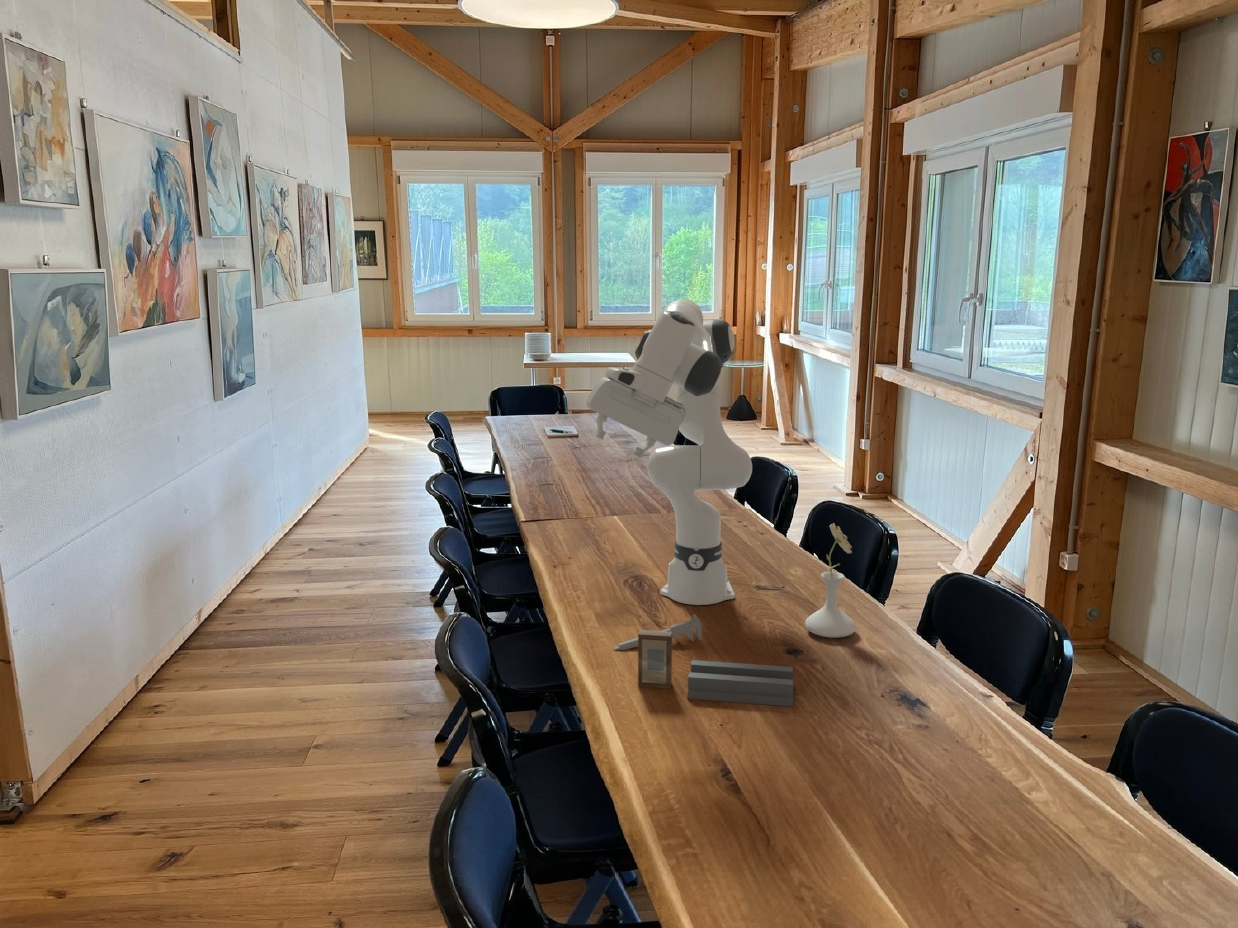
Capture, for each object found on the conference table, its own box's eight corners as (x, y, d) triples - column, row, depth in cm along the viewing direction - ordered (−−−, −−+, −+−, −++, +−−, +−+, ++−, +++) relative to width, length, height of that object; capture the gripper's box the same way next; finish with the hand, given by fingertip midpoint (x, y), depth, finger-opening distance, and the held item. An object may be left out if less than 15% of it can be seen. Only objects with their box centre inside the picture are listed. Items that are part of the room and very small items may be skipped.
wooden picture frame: (639, 680, 182) (640, 629, 180) (671, 683, 181) (672, 631, 179) (638, 686, 180) (638, 634, 177) (669, 688, 178) (670, 636, 176)
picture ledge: (692, 676, 184) (692, 657, 183) (791, 683, 181) (792, 664, 180) (687, 698, 174) (687, 679, 174) (792, 706, 171) (793, 686, 170)
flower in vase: (856, 644, 200) (862, 535, 195) (804, 640, 202) (808, 532, 197) (853, 622, 212) (859, 519, 207) (804, 618, 214) (808, 517, 209)
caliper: (699, 639, 203) (700, 612, 202) (701, 641, 202) (702, 614, 201) (612, 650, 198) (612, 623, 196) (614, 652, 197) (614, 624, 195)
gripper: (684, 405, 192) (656, 464, 193) (601, 364, 185) (572, 425, 186) (694, 409, 186) (665, 469, 187) (609, 367, 179) (579, 429, 180)
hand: (618, 447), depth 186 cm, fingers open, 8 cm apart
